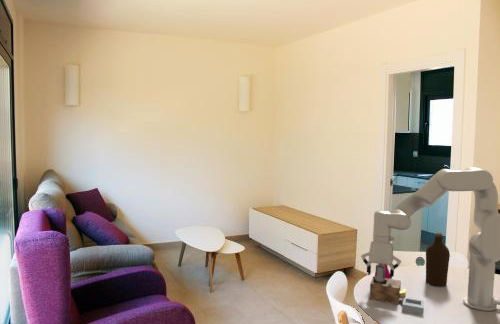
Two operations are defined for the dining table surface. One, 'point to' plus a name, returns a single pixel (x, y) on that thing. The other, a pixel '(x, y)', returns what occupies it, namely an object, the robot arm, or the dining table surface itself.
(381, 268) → the grey cylinder
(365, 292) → the dining table surface
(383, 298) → the socket block
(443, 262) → the olive oil
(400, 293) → the tan wooden t-shaped piece
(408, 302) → the grey square tray
